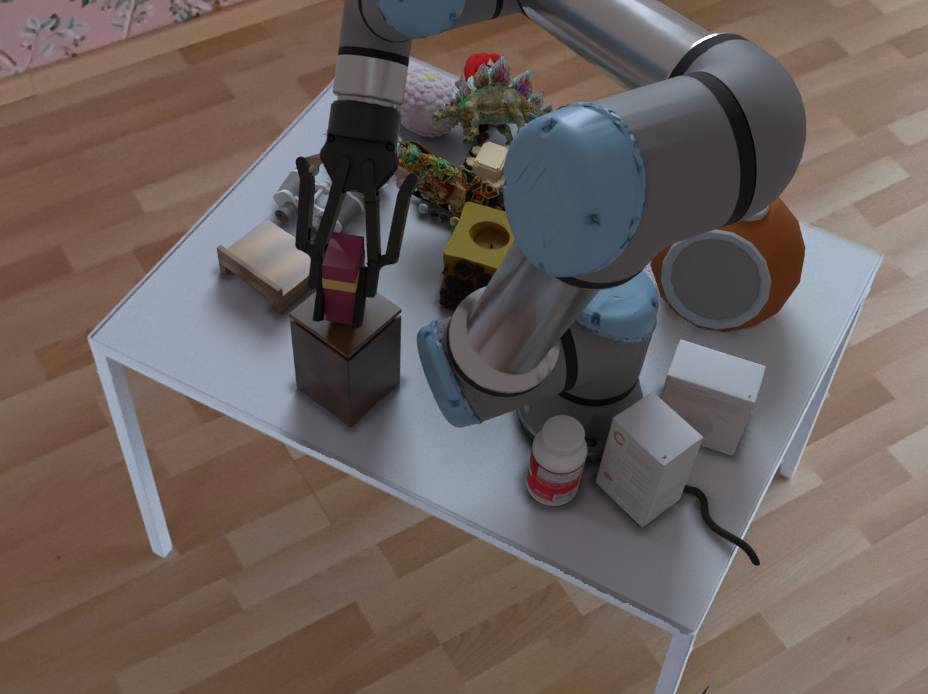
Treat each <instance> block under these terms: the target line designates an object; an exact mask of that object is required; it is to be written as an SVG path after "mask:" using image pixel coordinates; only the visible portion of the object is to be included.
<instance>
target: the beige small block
mask: <svg viewBox="0 0 928 694" xmlns="http://www.w3.org/2000/svg"><path fill="white" fill-rule="evenodd" d="M509 147H510V146H507V145H505V143H504V144H503V145H500V144H497V143H495V142H491V141H485V142H484V143H483V144H481V146H479V145H475V146H474V145H473V147H472V146H471V147H470V149H469V151H468V155H469V157H468V156H464V157H463V163H462V164H459V166H458V168H460V169H461V168H464V169H467V170H470V171H472V172H474V173H475V174H477V175H478V176H479V177H480V179H481V180H483V181H484V182H489V183H491V184H492V185H493V186H494V187H495V188H496V189H497V190H498V191H499V190H500V189H503V187H504V186H505V183H506V179H505V177H504V175H503V171H504V163H505V159H506V155H507V152H508V149H509Z"/></svg>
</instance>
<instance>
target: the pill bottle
mask: <svg viewBox="0 0 928 694" xmlns="http://www.w3.org/2000/svg"><path fill="white" fill-rule="evenodd" d="M584 437H585V432H584V428H583V426H582V425H581V423H580V422H579V421H578V420H576V419H575V418H573V417H571V416H567V415H557V416H554V417H551V418H550V419H548V420H547V421H546V422H545V424H544V426H543V429H542V430H541V431H540V432H539V433H538V434H537V435H536V437H535V439H534V440H532V441H533V442H532V446H531V452H530V457H529V462H528V468H527V472H526V477H525V478H526V481H525V484H526V485H525V486H526V488H527V491H528V492H529V494H530V496H531V497H532V498H533V499H534V500H535V501H536V502H538V503H540V504H542V505H544V506H549V507H558V506H559V507H560V506H563V505H565V504H567V503H569V502H570V501H571V500H573V499H574V497H575V496H576V495H577V493H578V491H579V487H580V484H581V479H582V476H583V472H584V468H585V463H586V462H587V461H586V457H587V444H586V441H585V439H584Z"/></svg>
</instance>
